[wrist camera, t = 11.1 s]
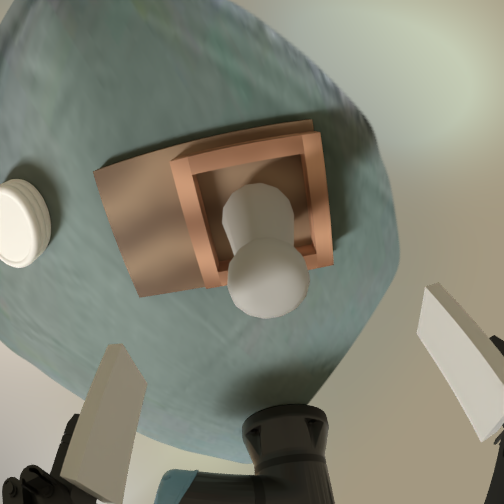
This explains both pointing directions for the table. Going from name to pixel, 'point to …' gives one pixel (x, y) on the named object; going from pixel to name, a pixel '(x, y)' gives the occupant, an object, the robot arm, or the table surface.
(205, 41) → the table surface
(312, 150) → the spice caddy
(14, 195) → the white round container
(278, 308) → the salt shaker
